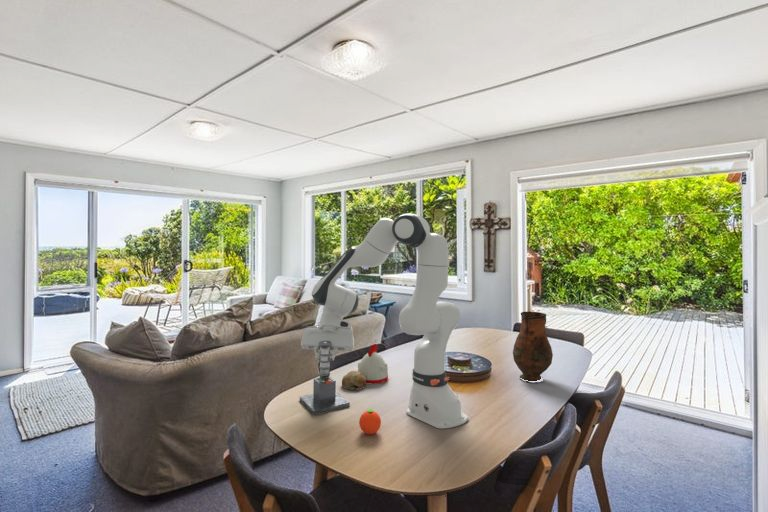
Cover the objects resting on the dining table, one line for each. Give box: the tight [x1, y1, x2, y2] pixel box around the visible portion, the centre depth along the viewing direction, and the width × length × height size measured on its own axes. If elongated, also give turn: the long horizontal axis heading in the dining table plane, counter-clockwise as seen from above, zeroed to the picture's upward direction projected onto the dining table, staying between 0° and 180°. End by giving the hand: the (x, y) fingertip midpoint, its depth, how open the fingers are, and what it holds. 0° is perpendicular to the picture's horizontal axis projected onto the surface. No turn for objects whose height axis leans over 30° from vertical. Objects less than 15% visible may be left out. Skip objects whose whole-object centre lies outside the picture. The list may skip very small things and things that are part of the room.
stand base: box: [299, 375, 351, 416], centre depth 142 cm, size 14×14×10 cm
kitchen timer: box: [357, 343, 389, 385], centre depth 169 cm, size 14×14×15 cm
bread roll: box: [341, 370, 367, 391], centre depth 160 cm, size 10×10×8 cm
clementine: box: [358, 408, 382, 435], centre depth 121 cm, size 8×7×7 cm
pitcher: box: [512, 311, 554, 381], centre depth 172 cm, size 17×21×30 cm
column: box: [318, 341, 331, 383], centre depth 141 cm, size 5×5×17 cm
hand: (324, 359), depth 141 cm, fingers closed on column, 4 cm apart
